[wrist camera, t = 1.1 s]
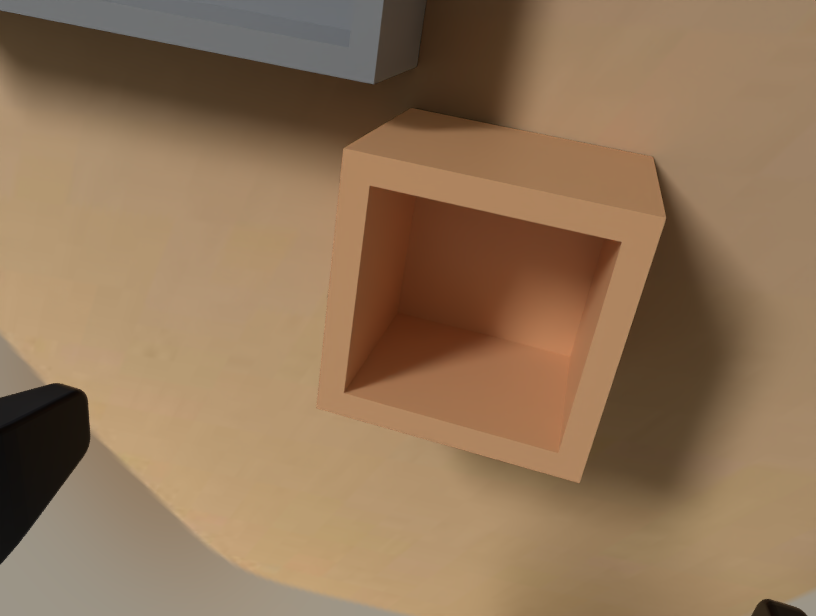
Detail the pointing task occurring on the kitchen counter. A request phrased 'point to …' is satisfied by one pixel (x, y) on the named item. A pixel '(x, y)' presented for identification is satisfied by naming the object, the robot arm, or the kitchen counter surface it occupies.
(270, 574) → the kitchen counter surface
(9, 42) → the kitchen counter surface
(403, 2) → the grey square tray
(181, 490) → the kitchen counter surface
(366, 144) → the small crate
